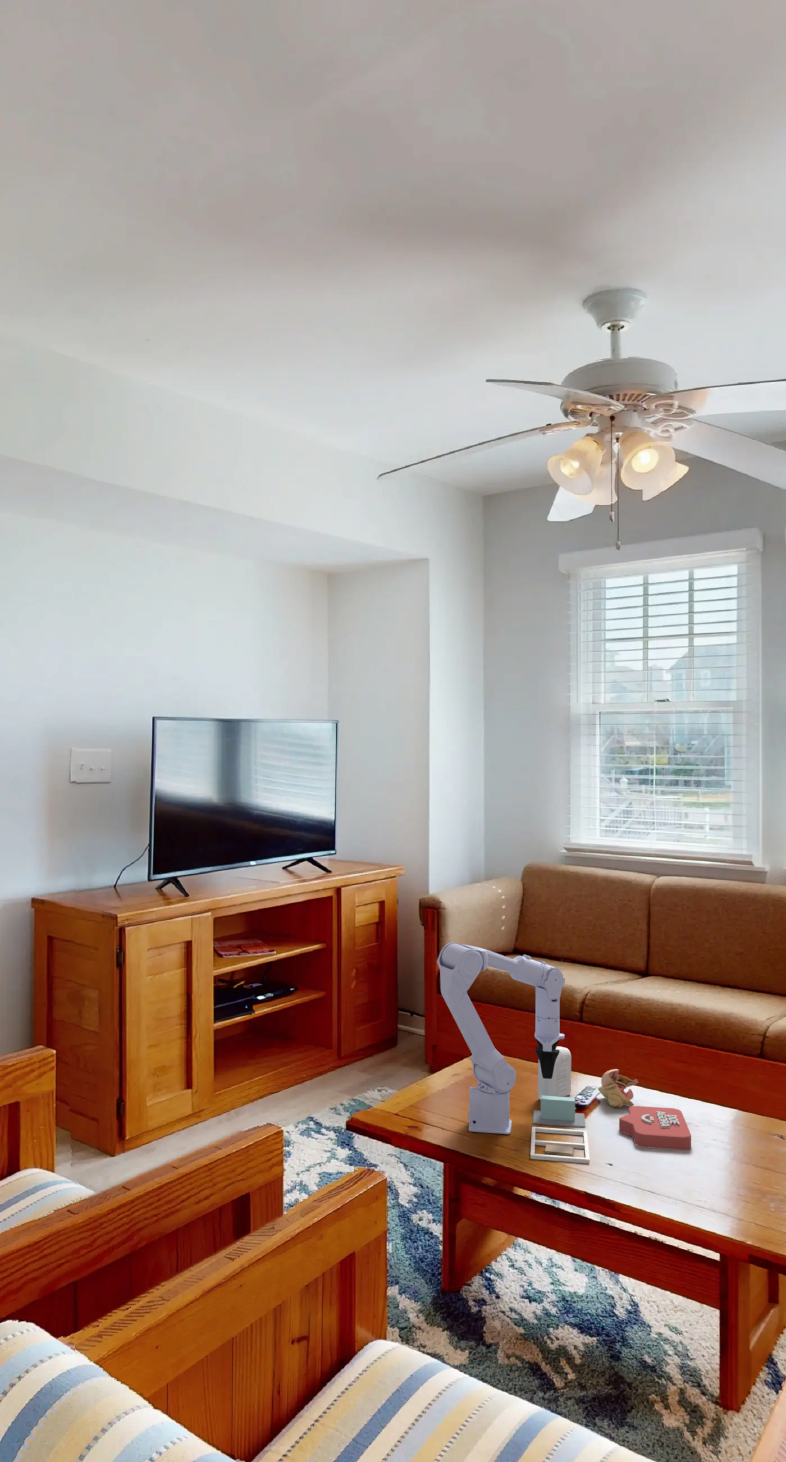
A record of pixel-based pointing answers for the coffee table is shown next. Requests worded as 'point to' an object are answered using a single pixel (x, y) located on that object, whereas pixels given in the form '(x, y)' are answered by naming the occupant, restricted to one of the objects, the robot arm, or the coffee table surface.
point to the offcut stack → (559, 1150)
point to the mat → (577, 1123)
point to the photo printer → (557, 1076)
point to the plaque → (656, 1127)
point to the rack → (560, 1158)
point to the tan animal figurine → (616, 1088)
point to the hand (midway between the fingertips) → (547, 1073)
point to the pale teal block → (558, 1108)
